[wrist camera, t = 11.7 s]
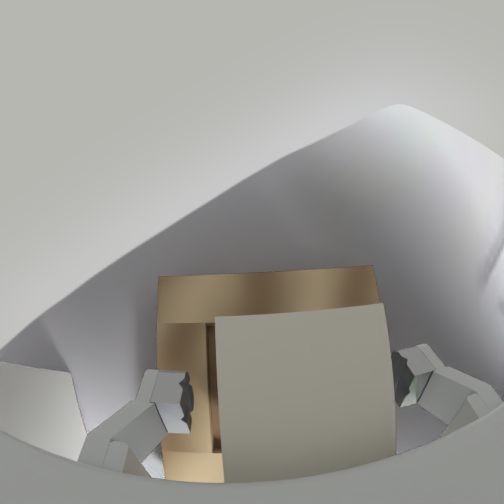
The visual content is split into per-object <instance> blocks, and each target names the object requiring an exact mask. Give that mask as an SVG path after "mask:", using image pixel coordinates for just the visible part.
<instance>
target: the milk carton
mask: <svg viewBox="0 0 504 504" xmlns="http://www.w3.org/2000/svg"><path fill="white" fill-rule="evenodd" d="M0 430H2V431H4V432H6V433H8V434H10V435H12V436H14V437H16V438H18V439H20V440H22V441H25V442H27V443H29V444H31V445H34V446H36V447H39V448H41V449H44V450H46V451H49V452H52V453H54V454H57V455H60V456H63V457H66V458H69V459H72V460H75V461H77V460H78V457H79V455H80V452H81V449H82V447H83V444H84V441H85V439H86V436H87V433H86V430H85V427H84V423H83V420H82V416H81V413H80V409H79V406H78V402H77V398H76V394H75V390H74V385H73V381H72V376H71V373H70V372H65V371H57V370H49V369H42V368H36V367H30V366H24V365H19V364H13V363H8V362H4V361H0Z"/></svg>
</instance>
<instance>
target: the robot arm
mask: <svg viewBox="0 0 504 504" xmlns="http://www.w3.org/2000/svg"><path fill="white" fill-rule="evenodd" d="M391 360H392V370H393V381H394V391H395V393H394V394H395V400H396V402H397V404H398V405H399V407H400V408H401V407H405V406H409V405H412V404H415V403H417V404H418V405H419V406H421V407H422V408H424V409H425V410H427V411H428V412H430V413H431V414H432V415H434V416H435V417H437V418H438V419H440V420H441V421H443V422H444V423H446V424H447V425H448V427H447V428H446V429H445V431H444V432H443V434H442V437H441V438H439V439H436V440H434V441H432V442H429V443H427V444H424V445H422V446H419V447H417V448H414V449H412V450H409V451H406V452H403V453H401V454H398V455H395V456H392V457H389V458H386V459H382V460H379V461H376V462H372V463H369V464H365V465H361V466H357V467H353V468H349V469H345V470H340V471H336V472H331V473H326V474H320V475H315V476H308V477H302V478H294V479H286V480H277V481H265V482H247V483H205V482H187V481H175V480H166V479H158V478H151V476H150V475H149V473H148V472H147V471H146V469H145V468H144V467H143V465H142V464H141V463H142V462H143V461H144V460H145V459H146V458H147V456H148V455H149V454H150V453H151V452H152V451H153V450H154V449H155V448H156V447H157V445H158V444H159V443H160V442H161V441H162V440H163V439H164V438H165V436H166V435H167V433H184V434H190V433H191V425H192V417H191V414H190V413H191V412H192V411H193V408H194V394H193V388H192V386H191V385H190V384H189V382H190V377H189V373H188V372H187V371H175V370H154V369H147V370H146V371H145V373H144V376H143V379H142V382H141V385H140V388H139V391H138V394H137V397H136V400H135V401H131V402H129V403H128V404H127V405H125V406H124V407H123V408H121V409H120V410H119V411H117V412H116V413H115V414H113V415H112V416H111V417H109V418H108V419H107V420H105V421H104V422H103V423H101V424H100V425H99V426H97V427H96V428H95V429H93V430H92V431H91V432H89V433H88V434H87V436H86V439H85V441H84V444H83V447H82V449H81V452H80V455H79V457H78V460H77V461H75V460H72V459H69V458H66V457H63V456H60V455H57V454H54V453H52V452H49V451H46V450H44V449H41V448H39V447H36V446H34V445H31V444H29V443H27V442H25V441H22V440H20V439H18V438H16V437H14V436H12V435H10V434H8V433H6V432H4V431H2V430H0V504H504V402H503V400H502V399H501V398H500V396H499V395H498V394H497V393H496V391H495V390H494V389H493V387H492V386H491V385H490V384H488V383H486V382H483V381H481V380H479V379H476V378H474V377H472V376H470V375H467V374H465V373H463V372H461V371H458V370H456V369H454V368H452V367H449V366H447V367H445V365H444V364H443V363H442V361H441V360H440V359H439V358H438V356H437V355H436V354H435V353H434V351H433V350H432V349H431V348H430V347H429V345H428V344H426V343H424V344H420V345H416V346H412V347H408V348H404V349H400V350H395V351H394V352H393V353H392V355H391Z"/></svg>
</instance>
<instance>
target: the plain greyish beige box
mask: <svg viewBox="0 0 504 504" xmlns="http://www.w3.org/2000/svg"><path fill="white" fill-rule="evenodd" d="M215 339H216V365H217V386H218V404H219V420H220V435H221V448H222V460H223V472H224V483H247V482H265V481H277V480H286V479H294V478H302V477H308V476H315V475H320V474H326V473H331V472H336V471H340V470H345V469H349V468H353V467H357V466H361V465H365V464H369V463H372V462H376V461H379V460H382V459H386V458H389V457H392V456H395V455H396V413H395V394H394V381H393V370H392V360H391V351H390V343H389V335H388V328H387V322H386V315H385V309H384V303H378V304H371V305H362V306H354V307H345V308H335V309H325V310H314V311H303V312H290V313H277V314H261V315H242V316H218V317H215Z"/></svg>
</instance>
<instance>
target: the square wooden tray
mask: <svg viewBox="0 0 504 504" xmlns="http://www.w3.org/2000/svg"><path fill="white" fill-rule="evenodd" d="M378 303H380V300H379V294H378V289H377V284H376V279H375V274H374V269H373V265H370V266H356V267H342V268H327V269H311V270H294V271H276V272H257V273H237V274H215V275H190V276H162V277H159V281H158V304H157V370H175V371H187V372H188V373H189V377H190V382H189V384H190V385H191V386H192V388H193V394H194V408H193V411H192V412H191V413H190V414H191V417H192V425H191V433H190V434H184V433H167V435H166V436H165V438H164V439H163V440H162V441H161V447H162V456H163V465H164V473H165V479H166V480H175V481H187V482H205V483H224V472H223V460H222V448H221V435H220V420H219V404H218V386H217V365H216V339H215V317H218V316H242V315H261V314H277V313H290V312H303V311H314V310H325V309H335V308H345V307H354V306H362V305H371V304H378Z"/></svg>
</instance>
